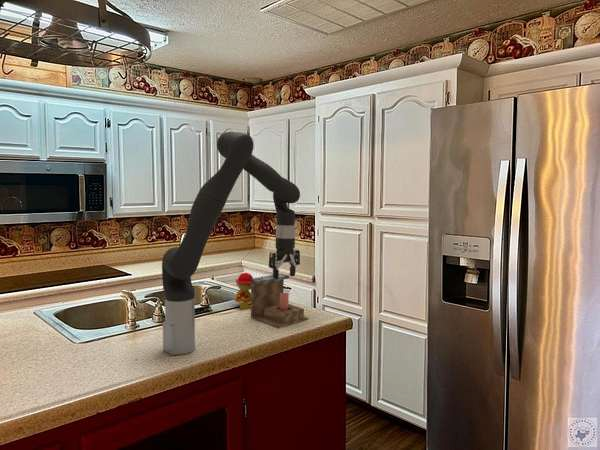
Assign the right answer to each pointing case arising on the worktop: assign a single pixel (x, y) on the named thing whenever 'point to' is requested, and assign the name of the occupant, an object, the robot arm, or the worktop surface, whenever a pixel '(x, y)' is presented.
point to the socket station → (272, 302)
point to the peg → (284, 301)
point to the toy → (244, 290)
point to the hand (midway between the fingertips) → (284, 277)
